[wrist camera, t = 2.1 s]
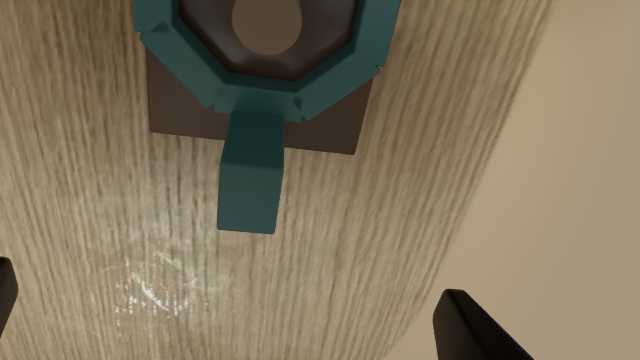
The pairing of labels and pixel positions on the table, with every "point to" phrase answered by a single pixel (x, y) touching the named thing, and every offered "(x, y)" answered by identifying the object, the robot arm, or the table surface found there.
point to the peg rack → (262, 66)
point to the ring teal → (262, 101)
